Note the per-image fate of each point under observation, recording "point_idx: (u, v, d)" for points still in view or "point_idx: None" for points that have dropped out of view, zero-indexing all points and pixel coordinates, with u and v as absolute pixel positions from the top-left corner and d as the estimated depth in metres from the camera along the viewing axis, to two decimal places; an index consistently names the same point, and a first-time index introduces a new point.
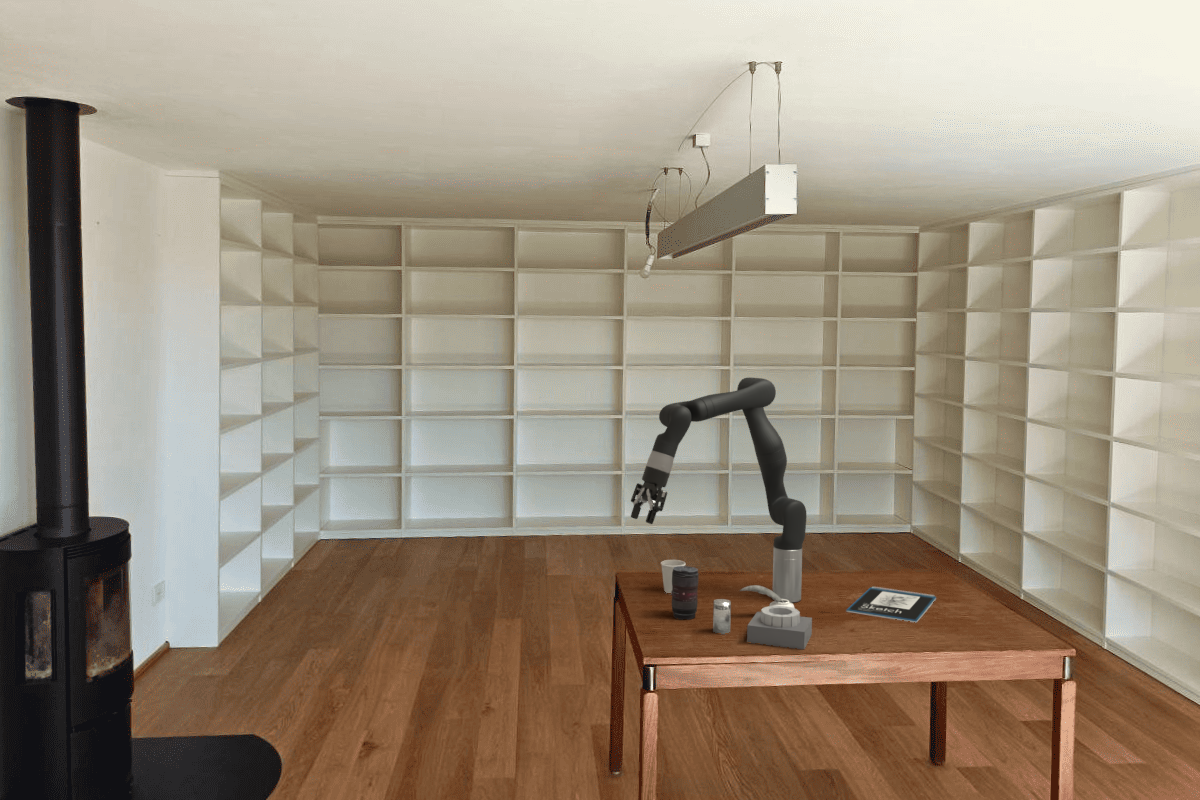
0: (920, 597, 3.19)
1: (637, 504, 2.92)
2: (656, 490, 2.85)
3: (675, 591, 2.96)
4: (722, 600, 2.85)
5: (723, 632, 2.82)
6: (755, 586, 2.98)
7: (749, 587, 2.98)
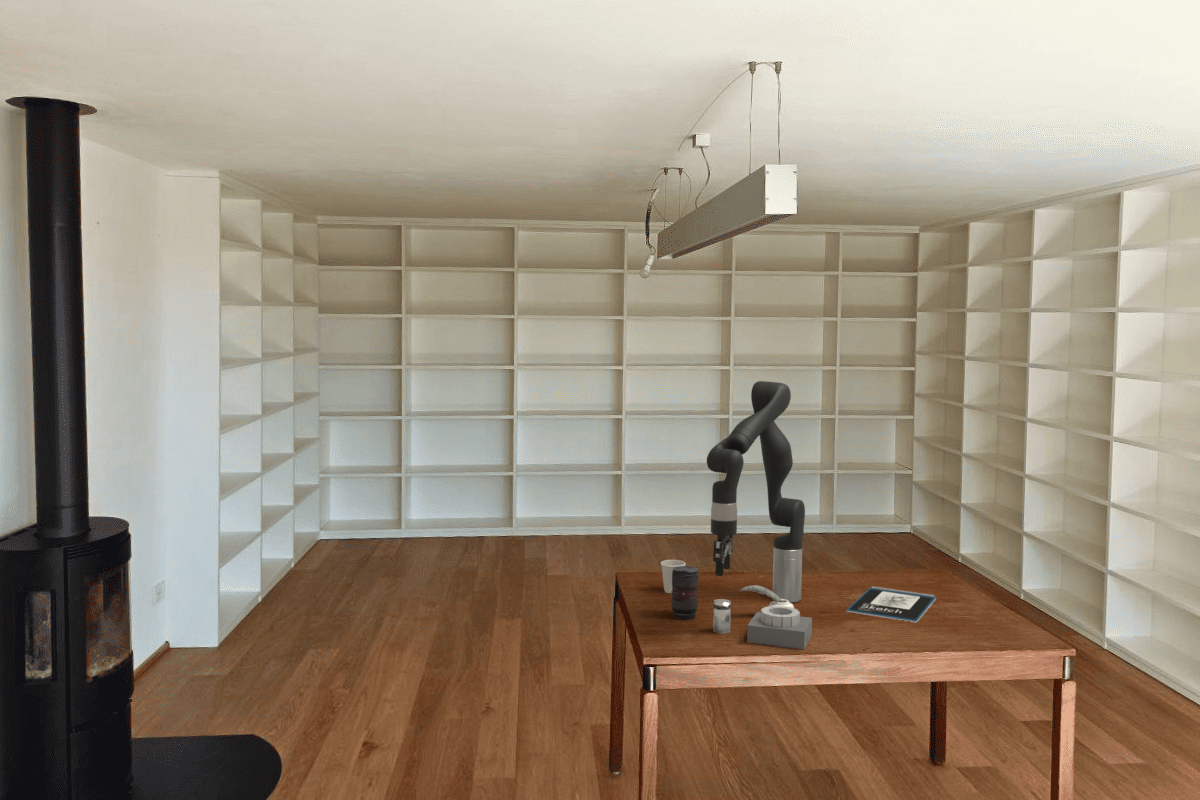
0: (920, 597, 3.19)
1: None
2: None
3: (675, 591, 2.96)
4: (722, 600, 2.85)
5: (723, 632, 2.82)
6: (754, 586, 2.98)
7: (748, 587, 2.98)
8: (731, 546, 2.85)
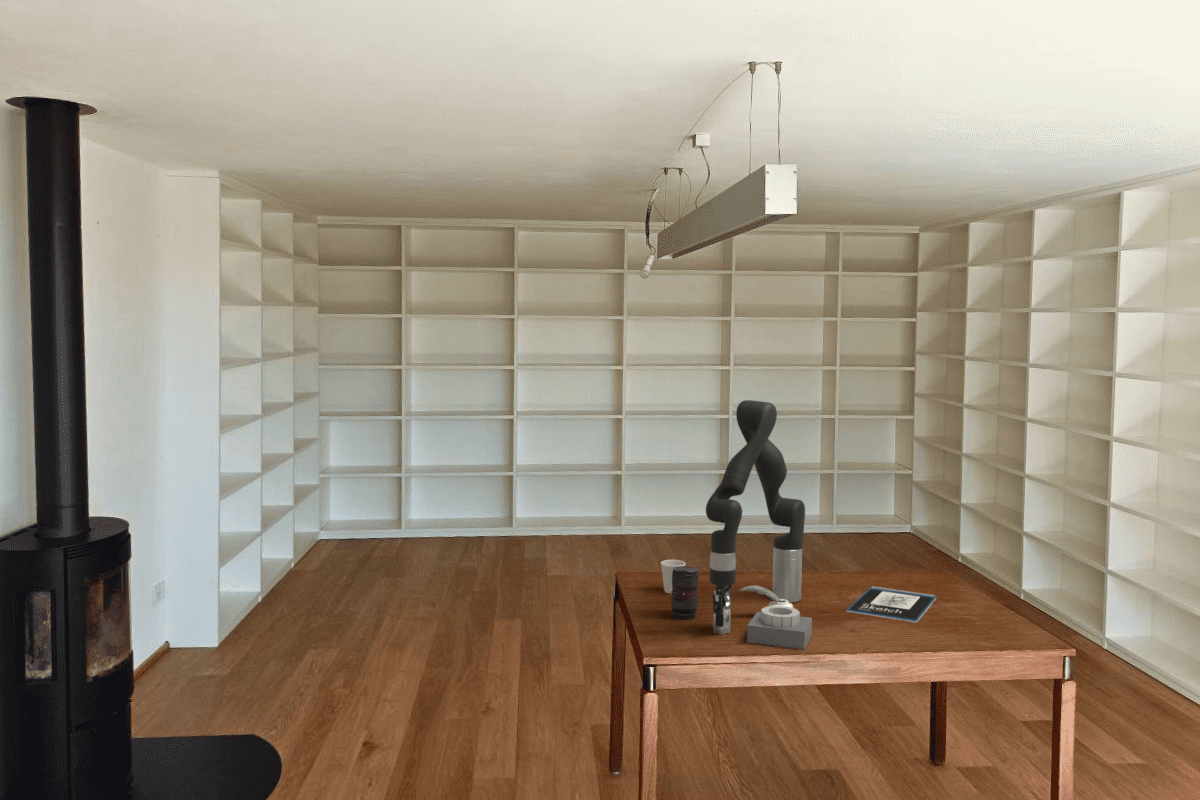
0: (920, 597, 3.19)
1: None
2: (716, 592, 2.80)
3: (675, 591, 2.96)
4: None
5: (723, 632, 2.82)
6: (754, 586, 2.98)
7: (748, 587, 2.97)
8: (729, 597, 2.86)
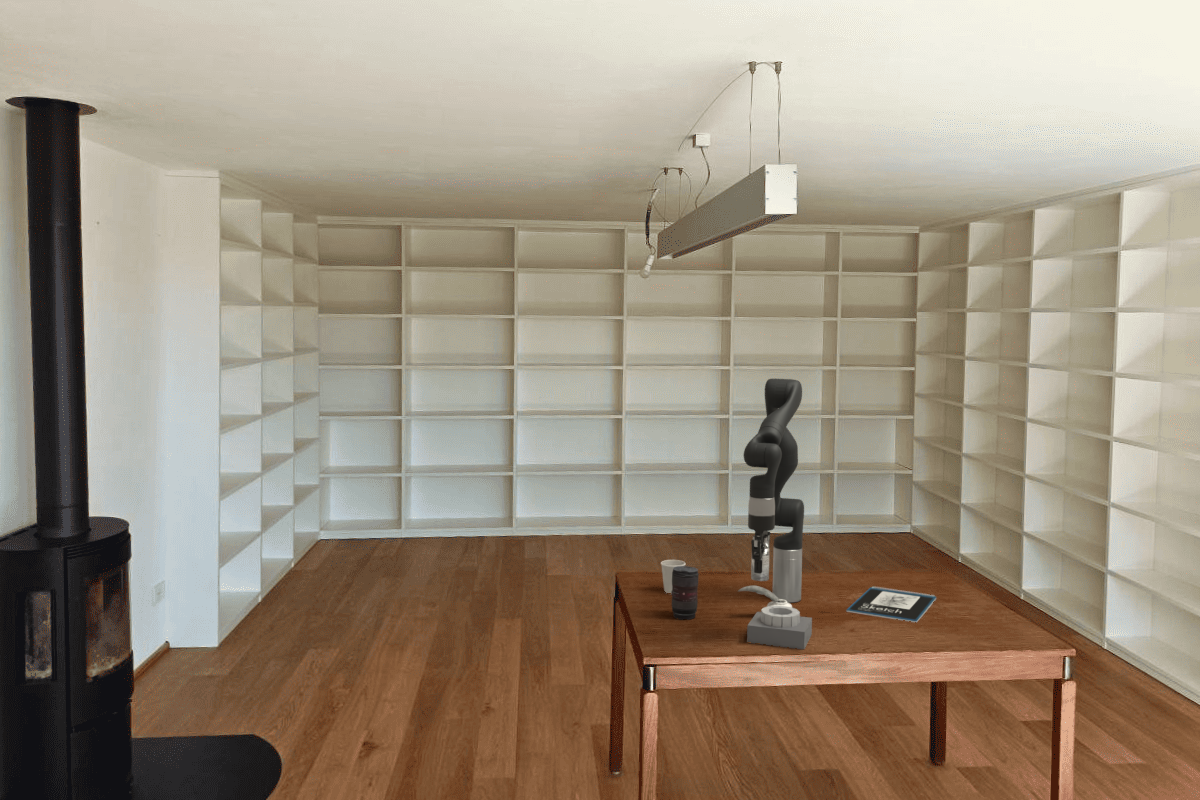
0: (920, 597, 3.19)
1: None
2: (754, 537, 2.75)
3: (675, 591, 2.96)
4: None
5: (762, 579, 2.77)
6: (753, 586, 2.98)
7: (747, 587, 2.97)
8: (768, 543, 2.81)
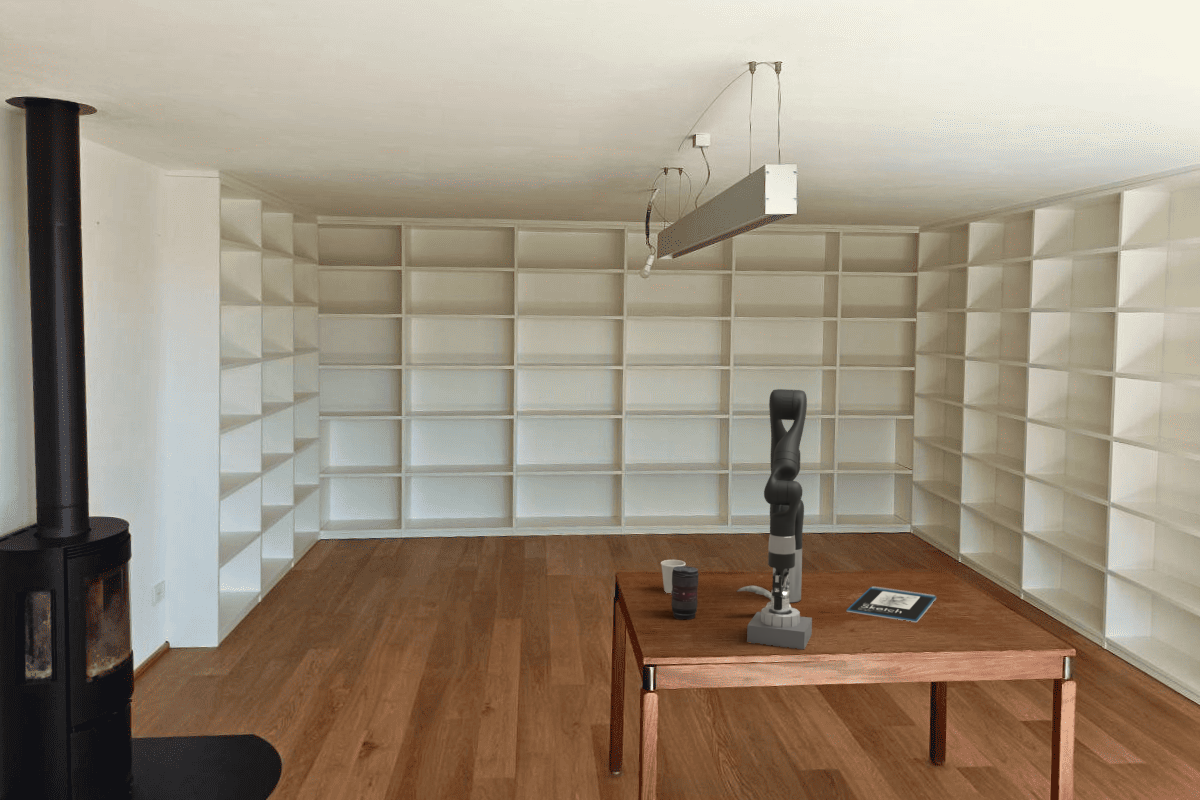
0: (920, 597, 3.19)
1: None
2: (775, 575, 2.74)
3: (675, 591, 2.96)
4: None
5: None
6: (752, 586, 2.97)
7: (746, 587, 2.97)
8: (789, 579, 2.80)
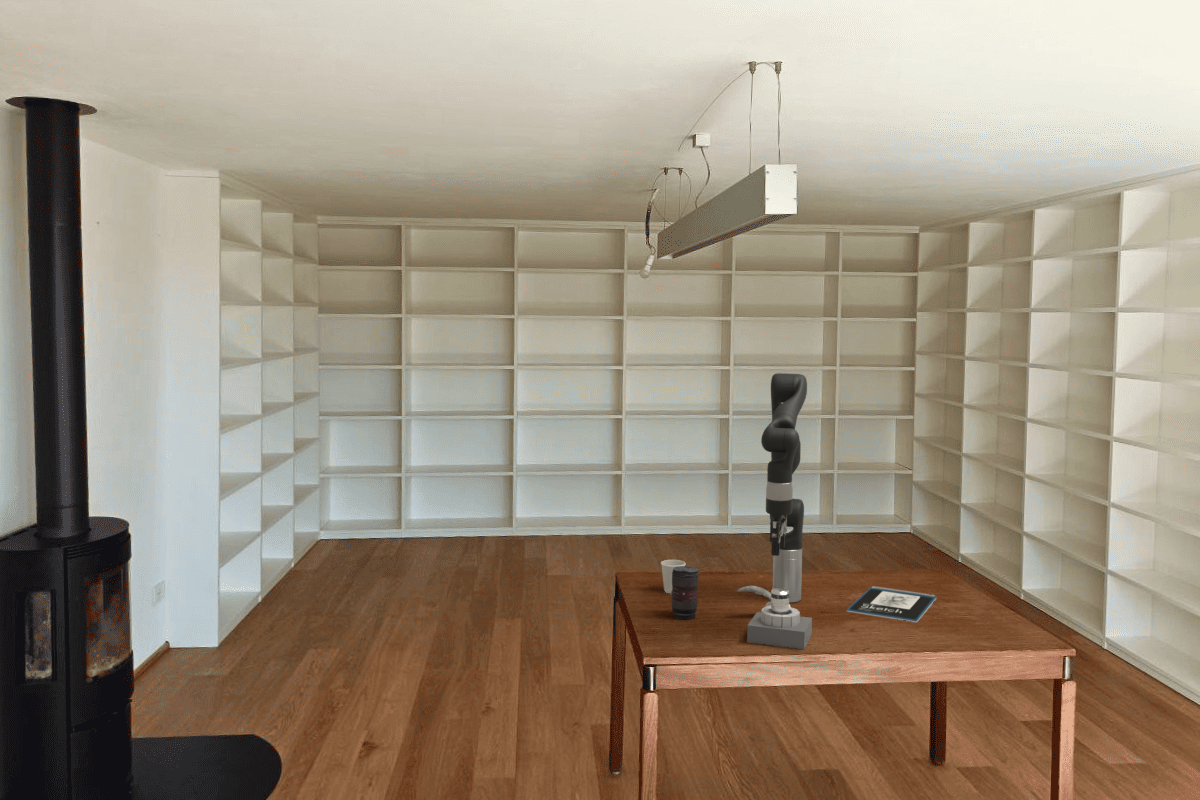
0: (920, 597, 3.19)
1: None
2: (773, 521, 2.77)
3: (675, 591, 2.96)
4: (780, 589, 2.79)
5: None
6: (751, 586, 2.97)
7: (745, 588, 2.97)
8: (786, 525, 2.84)
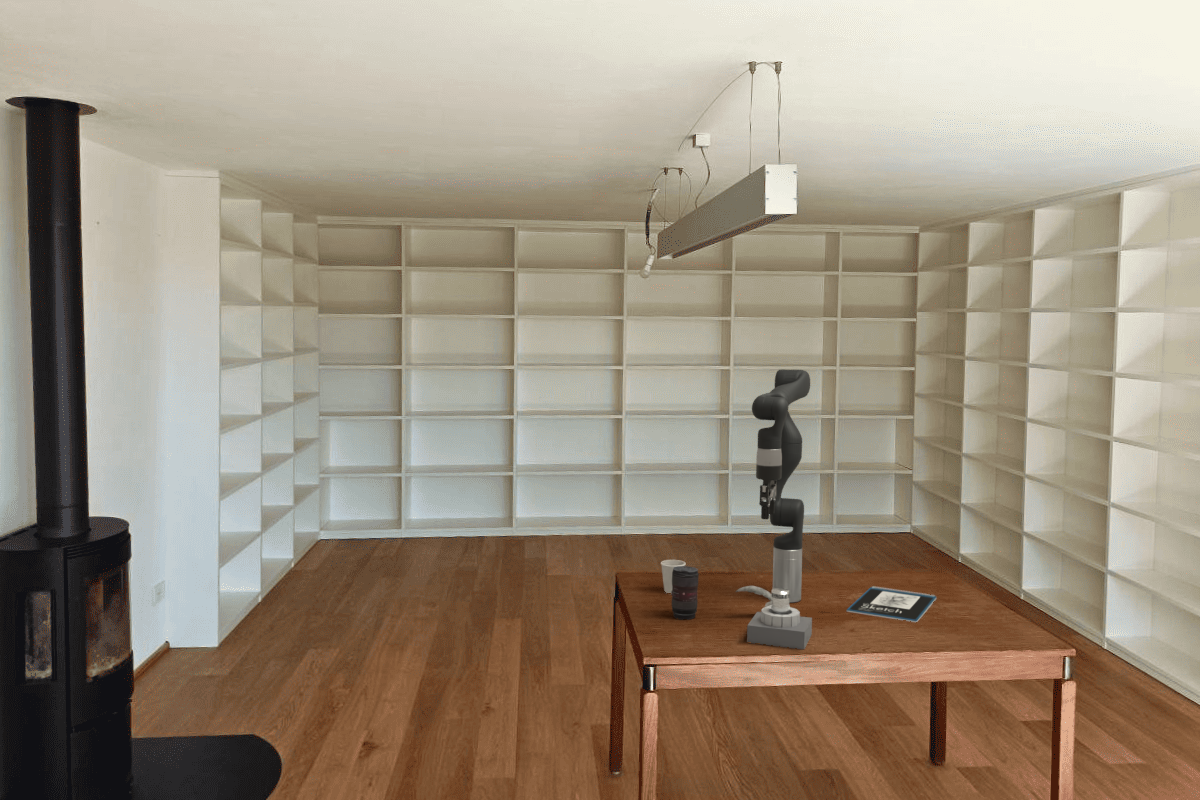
0: (920, 597, 3.19)
1: None
2: None
3: (675, 591, 2.96)
4: (780, 589, 2.79)
5: None
6: (751, 587, 2.97)
7: (745, 588, 2.97)
8: (775, 491, 2.94)
